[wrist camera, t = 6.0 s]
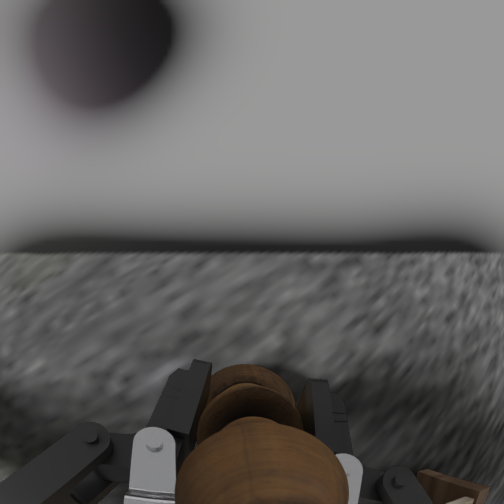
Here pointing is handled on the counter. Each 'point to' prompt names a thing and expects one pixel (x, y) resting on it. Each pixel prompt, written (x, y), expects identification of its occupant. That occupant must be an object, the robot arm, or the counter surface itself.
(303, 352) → the counter surface
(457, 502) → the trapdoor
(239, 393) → the brown wooden pepper mill
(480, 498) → the brown upright panels
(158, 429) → the robot arm
